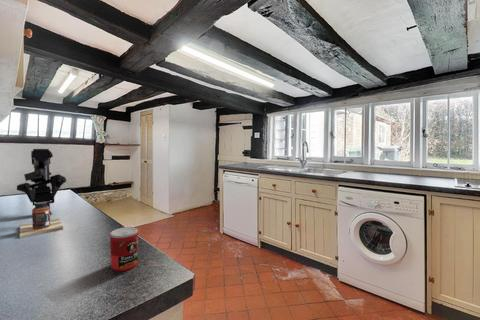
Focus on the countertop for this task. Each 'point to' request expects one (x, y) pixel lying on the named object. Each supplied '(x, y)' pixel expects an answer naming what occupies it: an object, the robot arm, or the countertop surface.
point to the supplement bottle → (41, 215)
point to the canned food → (124, 248)
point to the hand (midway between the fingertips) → (42, 199)
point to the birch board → (28, 229)
